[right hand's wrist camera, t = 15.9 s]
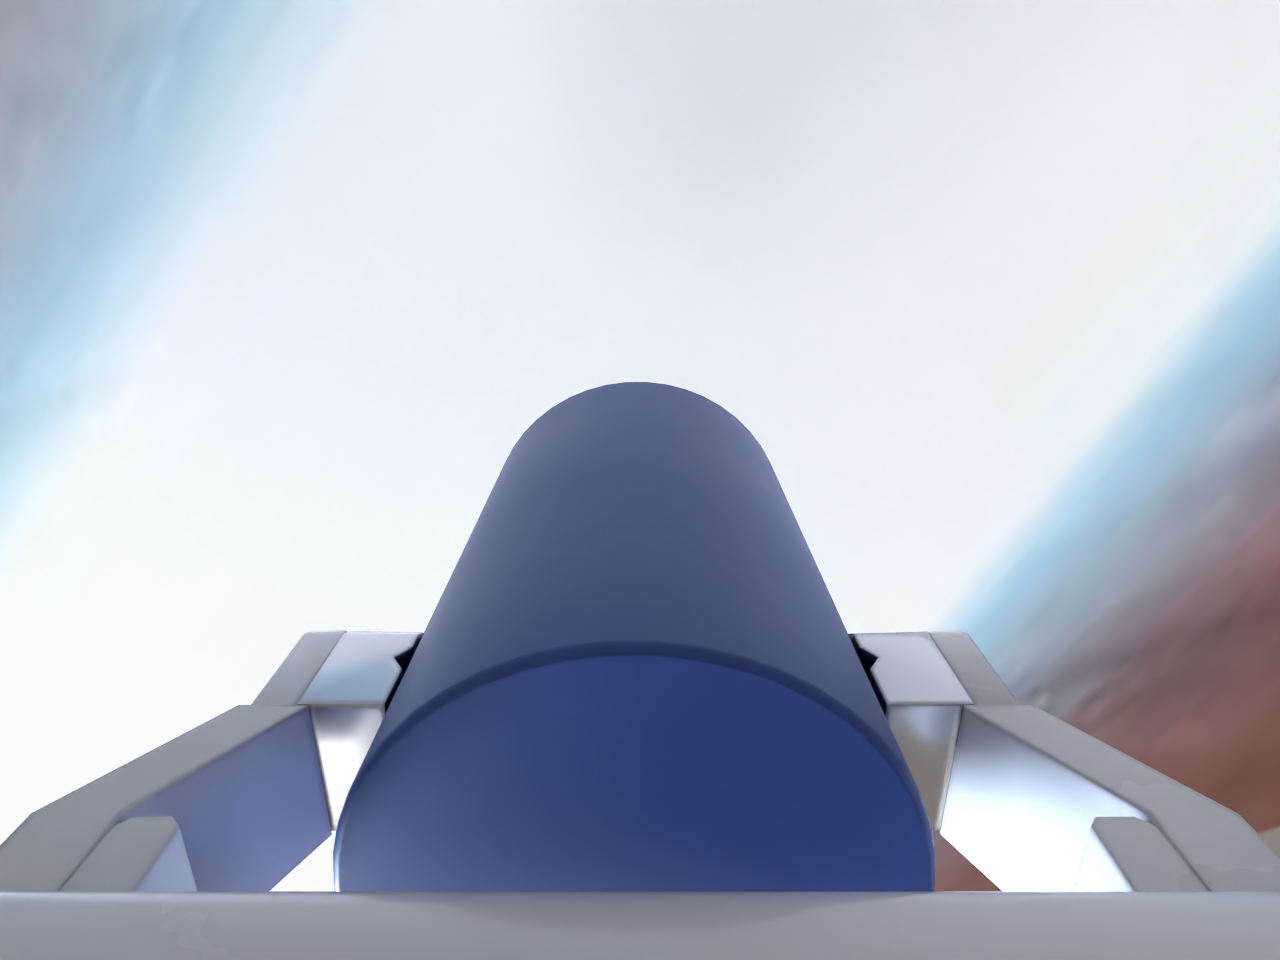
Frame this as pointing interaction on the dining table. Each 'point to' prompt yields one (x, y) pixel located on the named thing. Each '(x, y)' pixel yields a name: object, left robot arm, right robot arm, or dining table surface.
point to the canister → (635, 686)
